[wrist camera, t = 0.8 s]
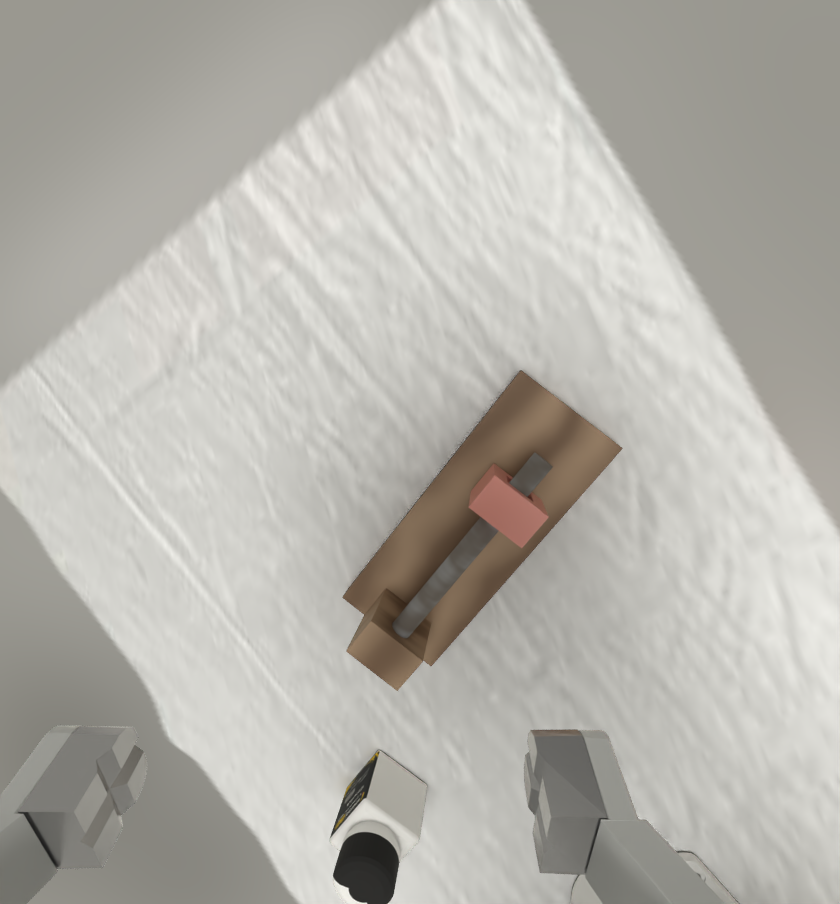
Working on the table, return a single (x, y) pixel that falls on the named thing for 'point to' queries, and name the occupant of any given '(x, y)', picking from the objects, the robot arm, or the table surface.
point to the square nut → (507, 506)
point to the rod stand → (470, 530)
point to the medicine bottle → (376, 830)
